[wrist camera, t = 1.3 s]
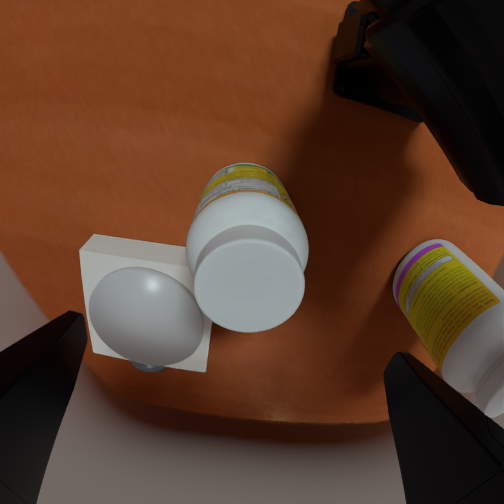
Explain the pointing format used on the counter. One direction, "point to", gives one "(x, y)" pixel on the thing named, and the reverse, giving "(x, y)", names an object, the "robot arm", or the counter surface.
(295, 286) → the supplement bottle
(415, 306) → the supplement bottle
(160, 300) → the scale
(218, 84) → the counter surface
